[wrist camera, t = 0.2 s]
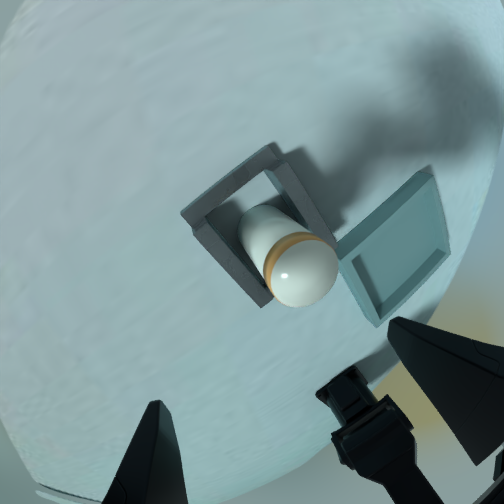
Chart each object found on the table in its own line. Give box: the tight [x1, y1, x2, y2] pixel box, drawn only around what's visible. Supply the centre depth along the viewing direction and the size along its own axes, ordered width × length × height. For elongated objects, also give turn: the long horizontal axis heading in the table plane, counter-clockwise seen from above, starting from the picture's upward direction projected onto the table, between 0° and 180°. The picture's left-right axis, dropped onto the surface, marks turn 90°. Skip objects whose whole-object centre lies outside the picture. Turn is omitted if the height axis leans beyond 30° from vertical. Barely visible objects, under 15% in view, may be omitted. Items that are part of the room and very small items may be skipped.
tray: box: [334, 172, 451, 328], centre depth 26 cm, size 11×13×2 cm
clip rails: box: [180, 146, 338, 308], centre depth 21 cm, size 10×8×2 cm
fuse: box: [238, 205, 339, 307], centre depth 18 cm, size 4×4×8 cm
